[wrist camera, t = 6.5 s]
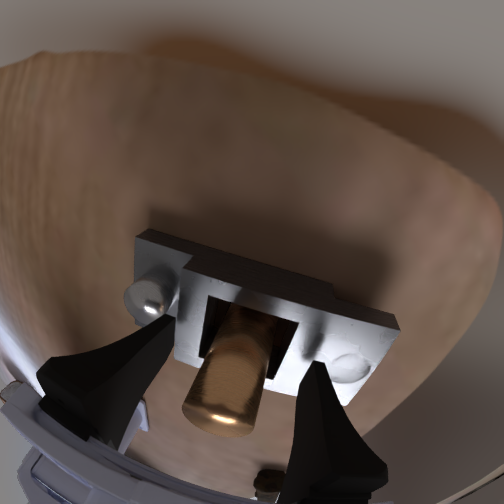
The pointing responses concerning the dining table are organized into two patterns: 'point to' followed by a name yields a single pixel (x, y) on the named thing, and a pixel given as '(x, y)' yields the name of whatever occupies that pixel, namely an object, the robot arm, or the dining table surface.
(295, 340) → the grey plate with knobs
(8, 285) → the dining table surface
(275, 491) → the hand tool
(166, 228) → the dining table surface
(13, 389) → the tin
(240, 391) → the copper pin
